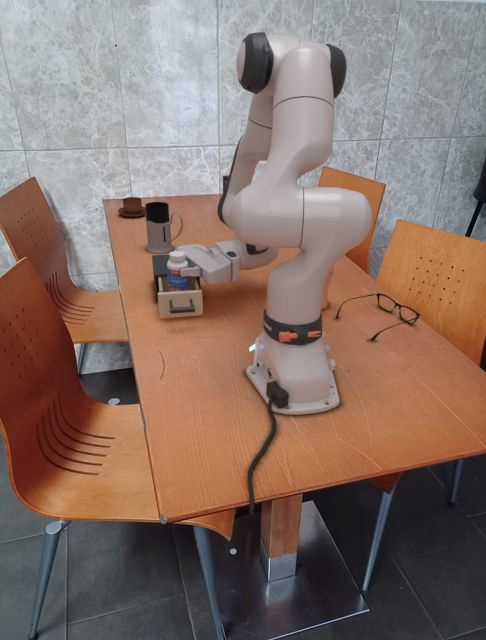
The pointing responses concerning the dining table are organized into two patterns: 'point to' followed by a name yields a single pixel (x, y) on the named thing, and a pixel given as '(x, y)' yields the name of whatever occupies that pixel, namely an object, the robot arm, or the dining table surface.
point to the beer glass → (326, 290)
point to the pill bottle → (177, 272)
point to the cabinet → (162, 270)
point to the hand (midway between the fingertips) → (174, 268)
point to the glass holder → (159, 227)
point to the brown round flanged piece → (132, 207)
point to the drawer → (179, 299)
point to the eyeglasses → (387, 311)
